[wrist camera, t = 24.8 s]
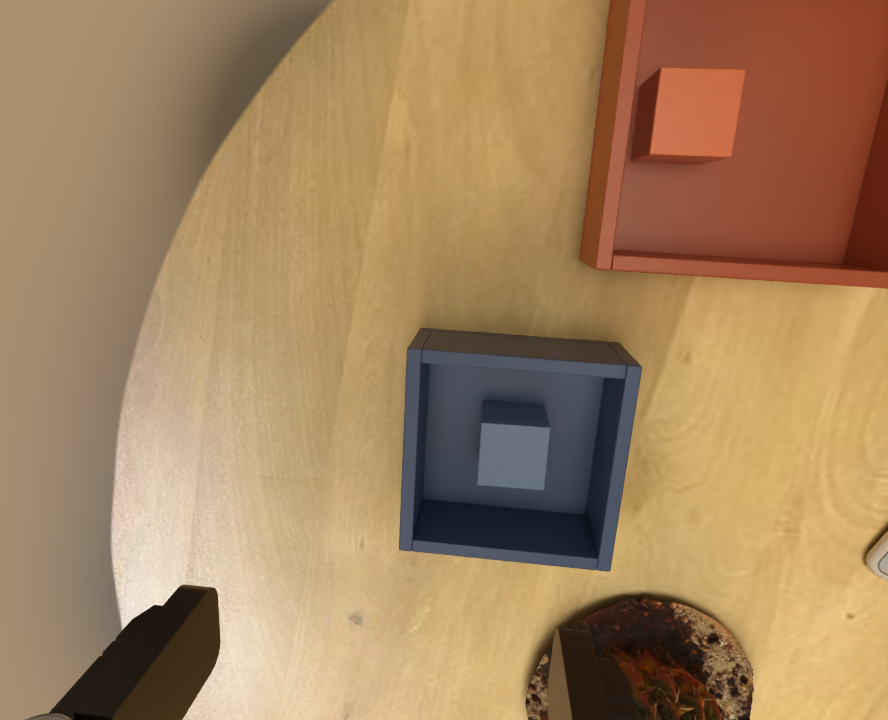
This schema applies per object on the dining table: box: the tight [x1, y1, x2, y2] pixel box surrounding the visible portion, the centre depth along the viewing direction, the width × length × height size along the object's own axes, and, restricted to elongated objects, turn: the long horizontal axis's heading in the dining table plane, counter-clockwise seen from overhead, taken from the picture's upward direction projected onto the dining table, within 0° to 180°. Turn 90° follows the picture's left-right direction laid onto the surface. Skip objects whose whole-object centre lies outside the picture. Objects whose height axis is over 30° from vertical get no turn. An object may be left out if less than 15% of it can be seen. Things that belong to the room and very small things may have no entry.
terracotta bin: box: [579, 0, 888, 288], centre depth 28 cm, size 16×16×6 cm
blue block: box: [477, 401, 551, 490], centre depth 34 cm, size 4×4×4 cm
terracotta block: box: [631, 67, 746, 164], centre depth 29 cm, size 4×4×4 cm
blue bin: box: [399, 328, 642, 571], centre depth 34 cm, size 13×13×6 cm
